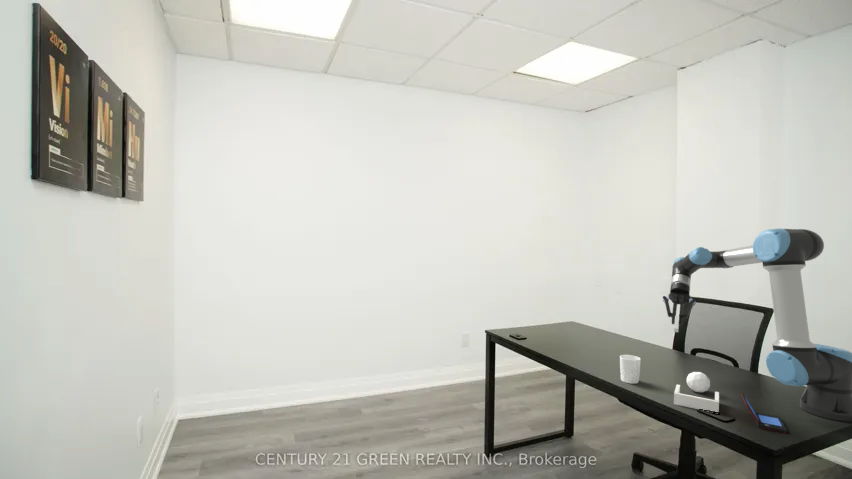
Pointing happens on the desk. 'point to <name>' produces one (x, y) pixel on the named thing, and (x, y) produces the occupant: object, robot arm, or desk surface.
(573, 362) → the desk surface
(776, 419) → the handheld game console
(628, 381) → the white cup
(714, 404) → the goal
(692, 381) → the geometric ball
